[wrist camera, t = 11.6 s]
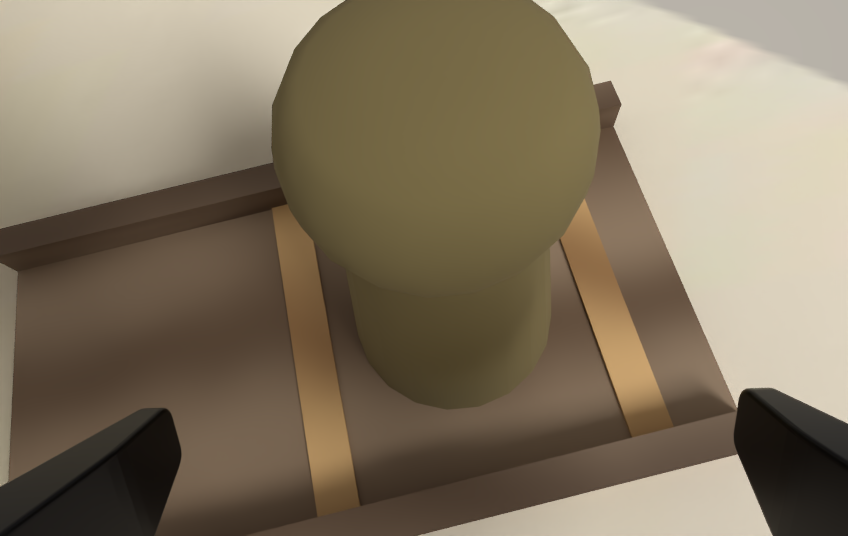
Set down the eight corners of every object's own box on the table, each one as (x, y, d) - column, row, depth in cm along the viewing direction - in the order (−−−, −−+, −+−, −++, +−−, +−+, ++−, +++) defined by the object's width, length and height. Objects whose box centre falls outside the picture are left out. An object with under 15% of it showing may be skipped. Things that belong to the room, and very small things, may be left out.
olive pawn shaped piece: (479, 192, 20) (485, -145, 9) (592, 338, 17) (760, 107, 7) (322, 285, 19) (143, 25, 9) (421, 451, 17) (338, 368, 6)
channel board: (745, 450, 16) (775, 444, 15) (17, 635, 16) (-35, 650, 14) (599, 114, 21) (610, 80, 19) (31, 252, 21) (-8, 230, 19)
